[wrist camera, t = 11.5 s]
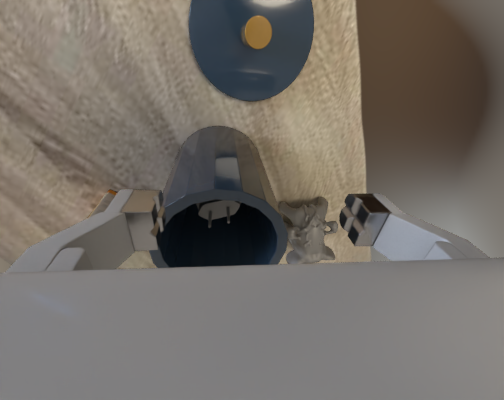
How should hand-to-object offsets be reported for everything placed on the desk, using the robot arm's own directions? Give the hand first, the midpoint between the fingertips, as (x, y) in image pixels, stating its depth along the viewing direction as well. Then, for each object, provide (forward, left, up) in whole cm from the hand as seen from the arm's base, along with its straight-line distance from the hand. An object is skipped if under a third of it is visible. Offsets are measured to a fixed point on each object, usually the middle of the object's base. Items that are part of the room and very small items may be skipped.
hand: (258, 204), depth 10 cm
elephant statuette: (+21, +7, -22) cm, 31 cm away
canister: (+8, -4, -21) cm, 23 cm away
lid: (-6, +3, -21) cm, 22 cm away
